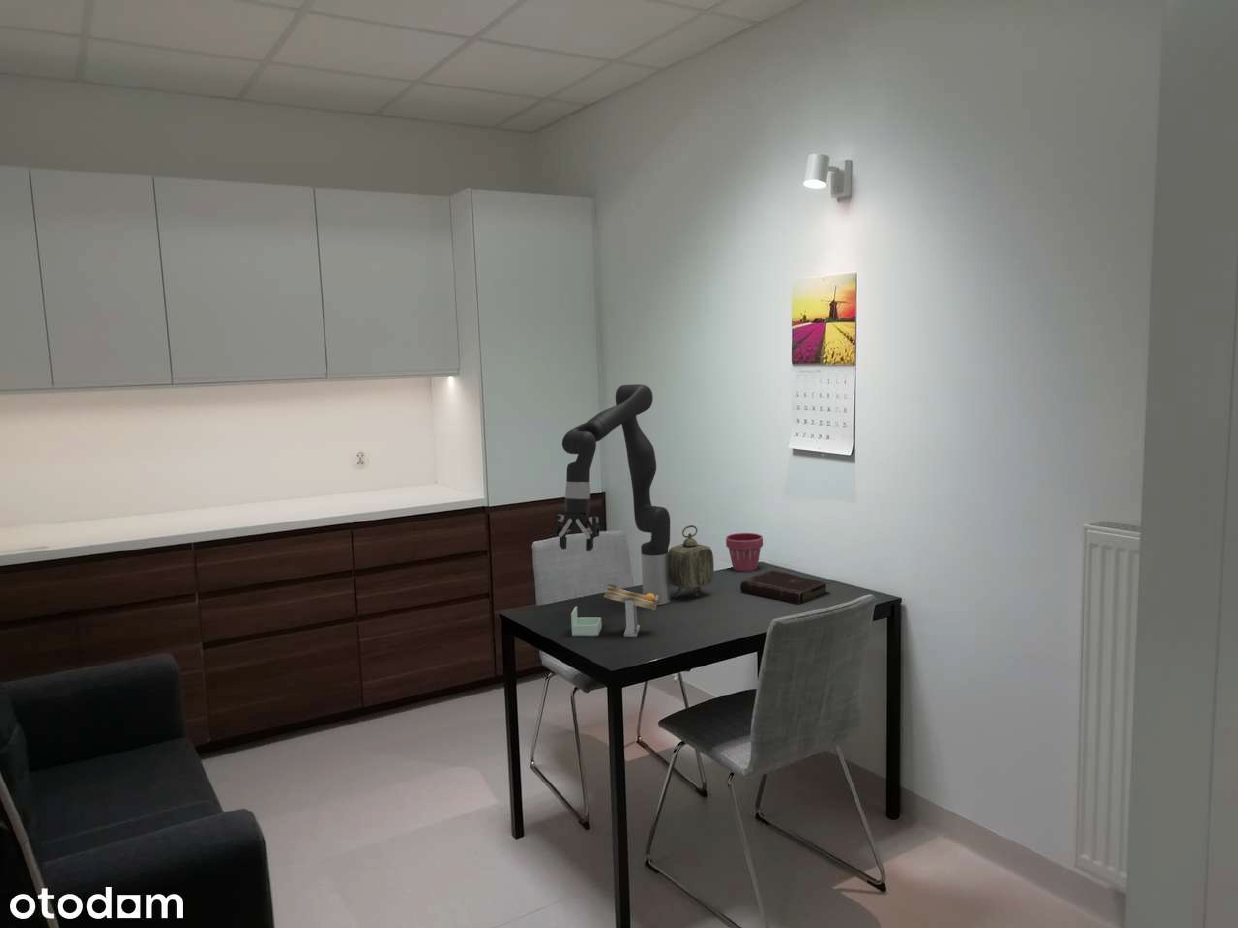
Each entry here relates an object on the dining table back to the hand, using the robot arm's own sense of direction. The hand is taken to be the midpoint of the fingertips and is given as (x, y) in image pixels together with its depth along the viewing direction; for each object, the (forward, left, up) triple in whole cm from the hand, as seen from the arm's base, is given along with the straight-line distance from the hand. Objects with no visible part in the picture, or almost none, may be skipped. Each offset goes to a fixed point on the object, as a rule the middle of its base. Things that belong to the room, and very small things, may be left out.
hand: (576, 550), depth 271 cm
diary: (-45, +65, -27) cm, 83 cm away
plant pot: (-80, +52, -27) cm, 99 cm away
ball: (-2, +22, -16) cm, 27 cm away
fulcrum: (-2, +16, -26) cm, 31 cm away
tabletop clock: (-42, +33, -27) cm, 59 cm away
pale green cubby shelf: (-2, +2, -26) cm, 26 cm away
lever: (-5, +16, -17) cm, 23 cm away
